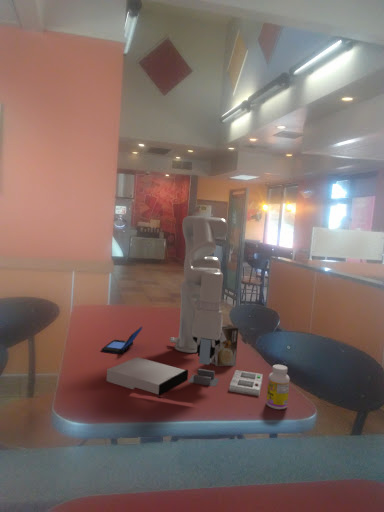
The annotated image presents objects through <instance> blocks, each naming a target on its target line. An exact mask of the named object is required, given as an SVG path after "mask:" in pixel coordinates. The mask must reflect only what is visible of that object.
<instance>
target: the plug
mask: <svg viewBox="0 0 384 512" xmlns="http://www.w3.org/2000/svg"><path fill="white" fill-rule="evenodd" d="M211 345H212V340H211V339H205V338H201V344H200V356H198V357H199V358H198V364H201V365H207V366H208V365H210V364H211V363H210V362H211V358H210V348H211Z"/></svg>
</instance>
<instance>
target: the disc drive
mask: <svg viewBox="0 0 384 512" xmlns="http://www.w3.org/2000/svg"><path fill="white" fill-rule="evenodd" d="M188 375H189V369H182V368H178V367H175V366H171V365H169V364H164V363H161V362H158V361H153V360H149V359H145V358H142V357H139V356H137V357H134V358H132V359H128V360H125V361H124V362H122V363H120V364H118V365H115V366H113V367H109V368H107V369H106V382H108V383H111V384H115V385H116V386H117V385H118V386H121V387H124V388H127V389H131V390H135V388H137V389H140V390H143V391H146V392H150V393H153V394H156V395H158V396H154V397H156V398H158V399H161V398H162V397H161V395H164V394H165V393H167V392H168V391H170V390H172V389H174V388H175V387H177V386H179V385H181V384H182V383H184V382H186V381H189V379H188V377H189V376H188Z"/></svg>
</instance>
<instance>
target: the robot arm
mask: <svg viewBox="0 0 384 512" xmlns="http://www.w3.org/2000/svg"><path fill="white" fill-rule="evenodd" d="M181 225H182V228H181V229H182V234H183V238H184V241H185V256H184V258H185V259H184V261H183V274H184V275H183V276H184V277H183V279H184V280H183V281H182V282H181V284H180V286H179V289H180V291H179V292H180V316H179V328H178V329H179V330H178V331H179V332H178V337H174V336H173V337H172V336H171V337H169V342H170V343H171V344H172V343H173V344H175V345H174V350H176V351H179V352H182V353H187V354H189V353H190V354H193V353H197V357H200V344H201V338H205V339H211V340H212V345H211V348H210V358H212V357H213V356H214V355H215V346H217V345H218V344H219V343H221V342H224V341H225V340H226V337H225V335H224V333H223V331H222V325H223V311H222V310H221V305H222V304H221V302H222V294H223V293H222V292H223V281H224V274H223V272H222V270H221V262H220V259H219V258H218V257H216V256H211V255H212V254H214V253H215V252H216V249H217V247H216V246H217V245H216V239H222V240H224V239H226V238H227V237H228V234H229V224H228V221H227V220H226V219H225V218H222V217H215V216H214V217H213V216H203V215H187V216H185V217H184V218H183V219H182V224H181ZM220 337H221V338H220ZM216 340H217V341H216Z"/></svg>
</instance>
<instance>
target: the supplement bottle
mask: <svg viewBox="0 0 384 512" xmlns="http://www.w3.org/2000/svg"><path fill="white" fill-rule="evenodd" d="M271 368H272V372H270V373H269V375H268V379H267V380H268V381H267V391H266V403H265V404H266V405H267V407H270V408H272V409H274V410H284V409H286V408H287V407H288V400H289V389H290V380H291V379H290V376H289V375H288V374H287V373H288V369H289V368H288V367H287V366H286V365H283V364H274V365H272V367H271Z"/></svg>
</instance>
